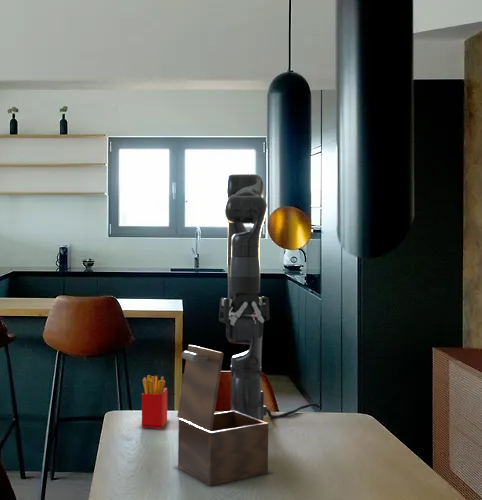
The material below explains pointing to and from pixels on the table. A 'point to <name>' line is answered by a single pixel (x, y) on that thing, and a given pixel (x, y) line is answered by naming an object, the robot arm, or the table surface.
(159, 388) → the french fries container
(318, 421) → the table surface
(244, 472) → the bread box
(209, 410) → the lid
